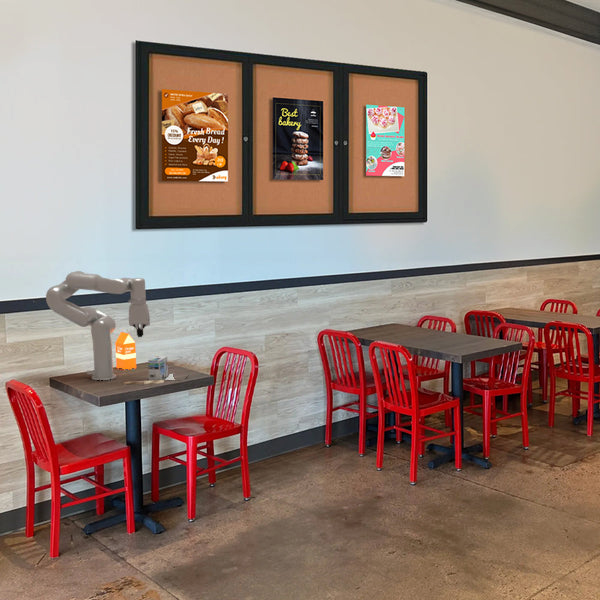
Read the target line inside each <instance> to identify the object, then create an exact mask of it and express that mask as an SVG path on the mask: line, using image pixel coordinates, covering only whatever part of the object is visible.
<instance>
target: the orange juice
mask: <svg viewBox="0 0 600 600" xmlns="http://www.w3.org/2000/svg"><path fill="white" fill-rule="evenodd" d="M115 360H116V361H115V362H116V364H115V365H116V366H115V367H116V369H119V368H122V369H124V370H123V371H126V370H125V369H128V370H133V369H132V368H134V369H137V353H136V341H135V340H134V339H133V338H132V336H131V335H130V333H127V332H123V331H120V334H119V335H118V337H117V339H116V341H115ZM122 369H121V370H122Z"/></svg>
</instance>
